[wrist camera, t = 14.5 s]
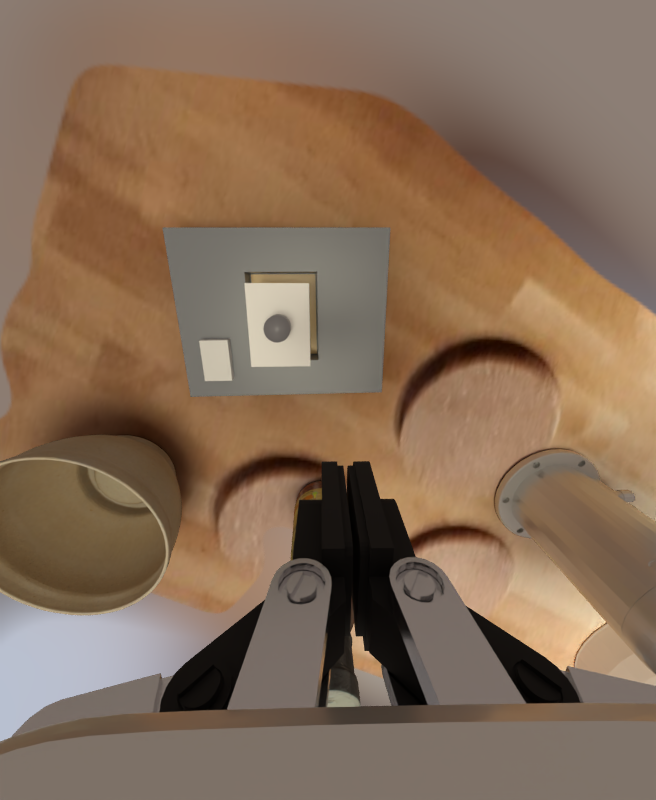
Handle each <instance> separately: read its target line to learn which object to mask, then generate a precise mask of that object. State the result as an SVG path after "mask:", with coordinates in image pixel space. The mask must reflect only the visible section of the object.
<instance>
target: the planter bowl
mask: <svg viewBox="0 0 656 800" xmlns="http://www.w3.org/2000/svg"><path fill="white" fill-rule="evenodd" d="M181 514H182V502H181V494H180V489H179V485H178V482H177V479H176V472H175V468H174V465H173V463H172V461H171V459H170V458H169V456H168V455H167V454H166V453H165V452H164V451H163V450H162V449H161V448H160V447H158V446H157V445H156V444H154V443H152V442H150V441H148V440H146V439H143V438H140V437H136V436H130V435H120V436H113V435H86V436H77V437H71V438H66V439H61V440H57V441H53V442H50V443H47V444H44V445H41V446H38V447H35V448H33V449H30V450H28V451H26V452H24V453H22V454H19V455H17V456H15V457H12V458H9V459H6V460H3V461H0V592H1V593H3V594H4V595H6V596H8V597H10V598H12V599H14V600H16V601H19V602H21V603H23V604H26V605H28V606H31V607H34V608H37V609H41V610H44V611H49V612H54V613H62V614H70V615H98V614H104V613H110V612H114V611H118V610H121V609H124V608H126V607H129V606H131V605H133V604H135V603H137V602H138V601H140V600H141V599H143V598H144V597H146V596H147V595H148V594H149V593H150V592H151V591H152V590H153V589H154V588H155V587H156V586H157V585H158V583H159V582H160V581H161V579H162V577H163V575H164V573H165V571H166V569H167V567H168V564H169V561H170V557H171V552H172V550H173V547H174V545H175V542H176V539H177V536H178V532H179V528H180V522H181Z"/></svg>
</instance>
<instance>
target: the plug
mask: <svg viewBox="0 0 656 800" xmlns="http://www.w3.org/2000/svg"><path fill="white" fill-rule="evenodd" d="M244 285H245V297H246V309H247V321H248V333H249V345H250V357H251V367H292V366H310V354H311V347H310V291H309V283H244Z"/></svg>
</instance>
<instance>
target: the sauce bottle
mask: <svg viewBox="0 0 656 800" xmlns="http://www.w3.org/2000/svg"><path fill="white" fill-rule="evenodd" d="M299 500H322V481H316V482H313V483H311V484H308V485H307V486H306V487H305V488H304V489H303V490H302V491H301V492H300V493H299V496H298V498H297V501H296V505H295V510H294V523H293V537H292V549H291V560H292V559H293V550H294V541H295V532H296V523H297V514H298V505H299ZM353 624H354V614H353V604H352V599H351V624H350V632H351V629H352V627H353ZM327 707H360V696H359V688H358V681H357V678H356V675H355V674H354V664H353V655H352V637H351V634H350V636H345V645H344V654H343V655H342V656H341V658H340V659H339V660H338V661H337V662H336V663H335V665H334V666H333V667H332V668H331V673H330V686H329V695H328V705H327Z"/></svg>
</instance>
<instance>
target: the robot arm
mask: <svg viewBox="0 0 656 800" xmlns="http://www.w3.org/2000/svg"><path fill="white" fill-rule="evenodd" d="M634 500H635V496H634V493H632V492H631V491H629V490H617V491H614V490H612V489H611V488H609V487H608V486H606V485H605V484H603V483H602V482H600V476H599V473H598V470H597V469H596V467H595V466H594V464H593V463H592V462H590V461H589V460H588V459H587V458H585V457H583V456H582V455H580V454H578V453H576V452H573V451H570V450H564V449H552V450H547V451H542V452H539V453H536V454H533V455H531V456H529V457H527V458H525V459H524V460H522V461H521V462H519V463H518V464H517V465H515V466H514V467H513V468H512V469H511V470H510V471H509V472H508V473H507V474H506V475H505V477H504V478H503V480H502V481H501V483H500V485H499V487H498V489H497V493H496V496H495V509H496V513H497V515H498V517H499V519H500V521H501V522H502V523H503V524H504V526H505V527H506V528H507V529H508V530H510V531H511V532H512V533H514V534H516V535H518V536H522V537H525V538H532V539H533V540H534V541H535V542H536V543H537V544H538V545H539V546H540V548H541V549H542V550H543V551H544V552H545V553H546V554H547V555H548V557H549V558H550V559H551V560H552V561H553V562H554V563H555V565H556V566H557V567H558V568H559V569H560V570H561V571H562V572H563V574H564V575H565V576H566V577H567V578H568V579H569V580H570V581H571V583H572V584H573V585H574V586H575V587H576V588H577V589H578V591H579V592H580V593H581V594H582V595H583V596H584V597H585V598H586V600H587V601H588V602H589V603H590V604H591V605H592V606H593V608H594V609H595V610H596V611H597V612H598V613H599V614H600V615H601V617H602V618H603V619H604V620H605V621H606V622H607V623H608V624H609V626H610V627H611V628H612V629H613V630H614V631H615V632H616V634H617V635H618V636H619V637H620V638H621V639H622V640H623V641H624V643H625V644H626V645H627V646H628V647H629V648H630V649H631V650H632V651H633V653H634V654H635V655H636V656H637V657H638V658H639V659H640V660H641V661H642V662H643V663H644V664H645V665H646V666H647V668H648V669H650V670H651V671H652V672H653V673H654V674H655V675H656V522H655V521H654V520H652V519H651V518H649V517H648V516H646V515H645V514H643V513H642V512H640V511H639V510H638V509H637V508H636V507H635V506H632V505H630V504H629V503H627V502H633V501H634ZM351 599H352V604H353V614H354V624H355V633H356V636H363V641H364V649H365V651H369V653H370V654H371V655H372V656H374V657H375V658H376V659H377V660H378V661H379V662H380V663H381V664H382V665H381V668H382V674H383V679H384V682H385V686H386V689H387V692H388V696H389V699H390V703H391V706H360V707H327V705H328V695H329V686H330V673H331V668H332V667H333V666H334V665H335V663H336V662H337V661H338V660H339V659H340V658H341V656H342V655H343V654H344V645H345V636H350V624H351ZM0 800H656V686H654V685H650V684H645V683H641V682H636V681H632V680H627V679H623V678H618V677H614V676H609V675H605V674H601V673H596V672H592V671H587V670H583V669H578V668H574V667H569V666H567V669H566V671H562V670H559V668H558V667H557V666H555V665H554V664H553V663H551V662H550V661H549V660H548V659H546V658H545V657H544V656H542V655H541V654H539V653H538V652H536V651H534V650H533V649H531V648H530V647H528V646H527V645H525V644H524V643H522V642H521V641H519V640H518V639H516V638H515V637H513V636H511V635H510V634H508V633H507V632H505V631H504V630H502V629H501V628H499V627H498V626H496V625H495V624H493V623H491V622H490V621H488V620H487V619H485V618H484V617H482V616H481V615H479V614H478V613H476V612H475V611H473V610H472V609H470V608H468V607H467V606H465V604H464V603H463V601H462V599H461V598H460V596H459V595H458V593H457V591H456V590H455V588H454V586H453V585H452V583H451V582H450V580H449V578H448V577H447V576H446V574H445V573H444V572H443V571H442V569H440V568H439V567H438V566H436V565H435V564H434V563H432V562H430V561H428V560H425V559H422V558H417V557H416V556H415V554H414V551H413V548H412V545H411V542H410V540H409V537H408V534H407V531H406V528H405V526H404V523H403V520H402V517H401V515H400V512H399V509H398V506H397V503H396V501H395V500H394V499H380V497H379V493H378V490H377V486H376V483H375V479H374V476H373V472H372V469H371V465H370V462H369V461H362V462H353V466H348V468H347V492H346V484H345V476H344V468H343V466H337V462H322V500H299V505H298V514H297V523H296V532H295V541H294V550H293V559H292V560H291V561H289V562H287V563H286V564H284V565H282V566H281V567H280V568H279V569H278V570H277V571H276V573H275V575H274V577H273V579H272V581H271V584H270V588H269V590H268V593H267V596H266V599H265V600H264V601H263V602H262V603H260V604H259V605H258V606H257V607H255V608H254V609H253V610H252V611H250V612H249V613H248V614H247V615H245V616H244V617H243V618H242V619H240V620H239V621H238V622H237V623H235V624H234V625H233V626H231V627H230V628H229V629H228V630H226V631H225V632H224V633H223V634H221V635H220V636H219V637H218V638H216V639H215V640H214V641H213V642H211V644H209V645H208V646H206V647H205V648H204V649H203V650H201V651H200V652H199V653H198V654H196V655H195V656H194V657H193V658H191V659H190V660H189V661H188V662H186V663H185V664H184V665H183V666H182V667H181V668H180V669H179V670H178V671H177V672H176V673H175V674H174V675H173V676H170V677H166V678H162V677H161V674H156V675H152V676H149V677H145V678H141V679H137V680H133V681H130V682H126V683H122V684H118V685H115V686H111V687H107V688H103V689H100V690H96V691H92V692H89V693H85V694H81V695H77V696H74V697H70V698H66V699H62V700H60V701H57V702H55V703H53V704H50V705H48V706H46V707H44V708H43V709H41V710H40V711H39V712H37V713H36V714H34V715H33V716H32V717H30V718H29V719H28V720H27V721H26V722H25V723H24V724H23V725H22V726H21V727H20V728H19V729H18V730H17V731H16V733H14V734H13V736H12V737H11V738H8V739H6V740H3V741H1V742H0Z"/></svg>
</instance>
